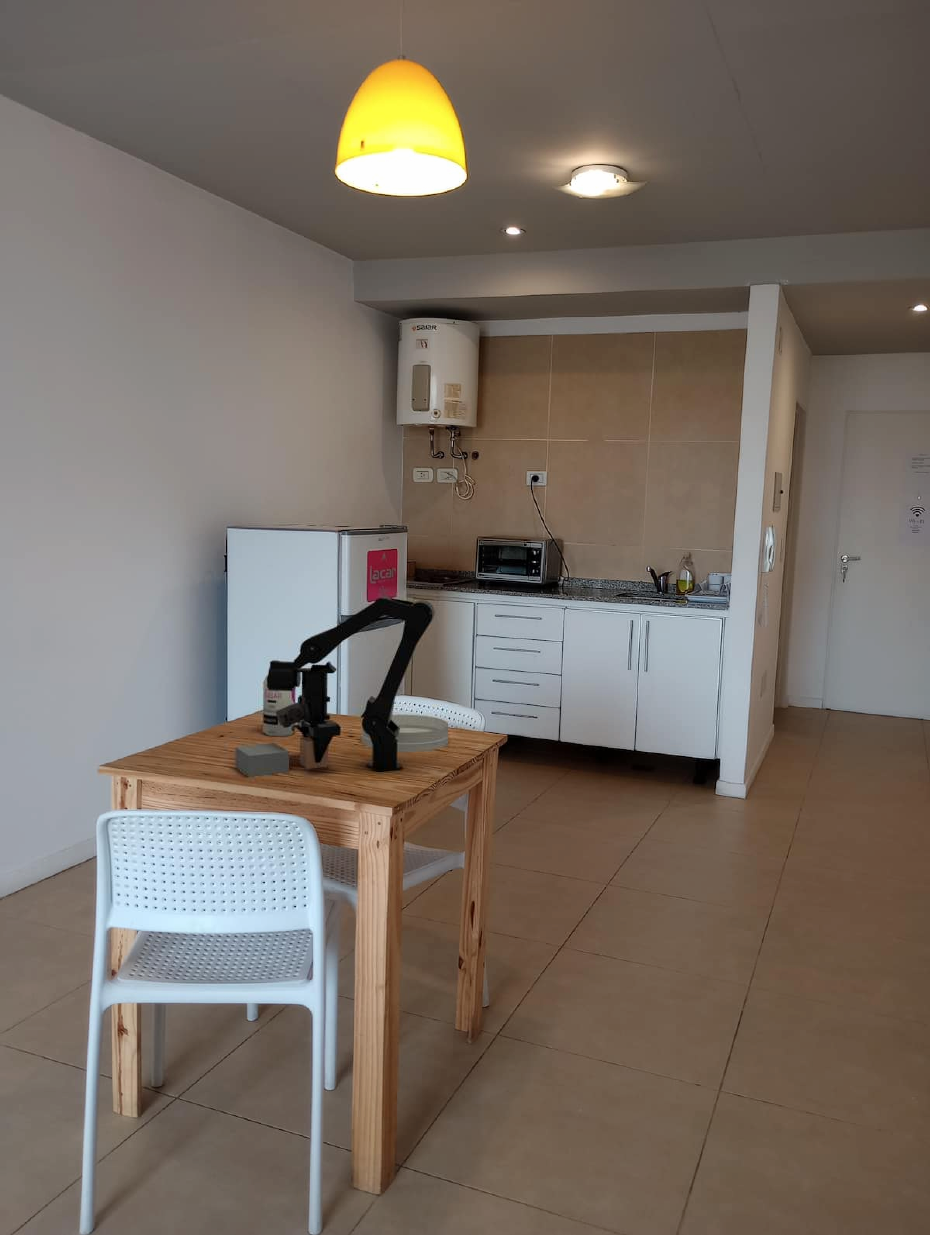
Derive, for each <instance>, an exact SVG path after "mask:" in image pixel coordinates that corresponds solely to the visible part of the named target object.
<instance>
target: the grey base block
mask: <svg viewBox="0 0 930 1235" xmlns="http://www.w3.org/2000/svg"><path fill="white" fill-rule="evenodd" d="M289 760H290V751H289V750H288V749H285V748H284V747H282V746H280V745H278V744H277V743H275V742H272V743H271V742H270V743H262V744H252V745H244V746H242V745H241V746H235V769H236V768H237V769H236V770H238V771H239V770H241V771H242V772H243V773H245V774H246V775H247V776H246V775H245V774H244V775H245V776H246V777H248V778H249V777H250V778H256V777H255V776H258V777H264V776H263V775H267V776H272V774H275V775H280V774H279V773H283V774H289V772H290V771H289V770H290V769H289V768H290V767H289V766H290V764H289V763H290V761H289ZM242 772H241V773H242ZM243 773H242V774H243Z"/></svg>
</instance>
